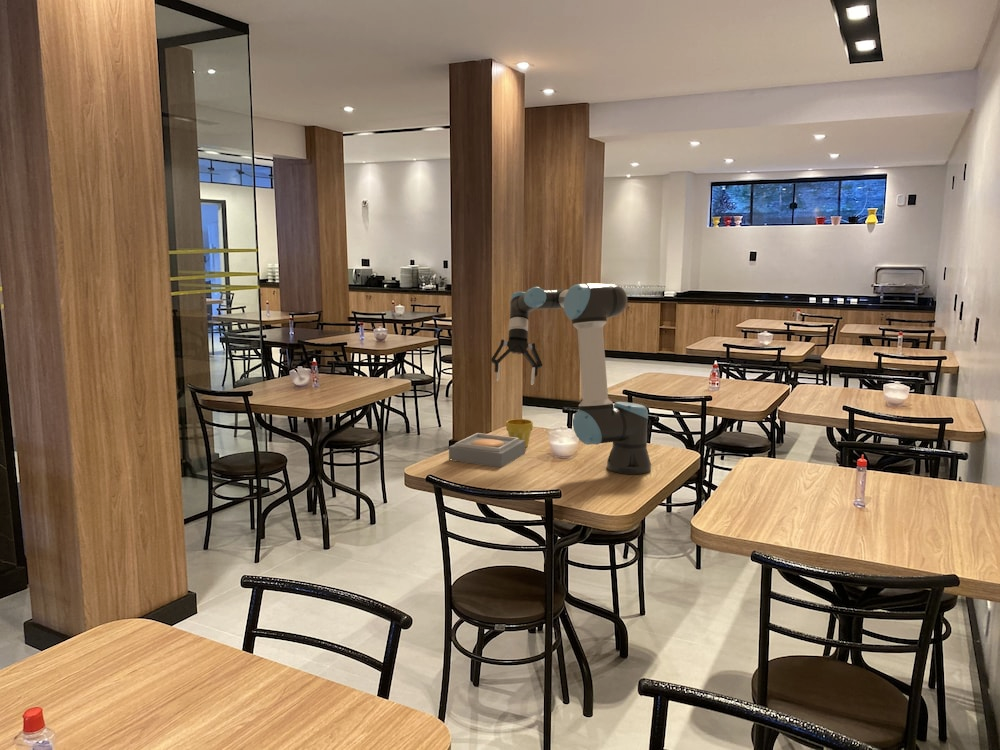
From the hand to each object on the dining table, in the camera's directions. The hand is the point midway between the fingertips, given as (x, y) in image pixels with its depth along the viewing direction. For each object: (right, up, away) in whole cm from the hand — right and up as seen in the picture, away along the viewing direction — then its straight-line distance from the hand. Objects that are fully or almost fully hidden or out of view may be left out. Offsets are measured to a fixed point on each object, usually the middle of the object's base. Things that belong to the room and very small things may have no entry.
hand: (515, 382), depth 281 cm
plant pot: (+2, -25, +3) cm, 25 cm away
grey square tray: (-10, -27, -13) cm, 32 cm away
